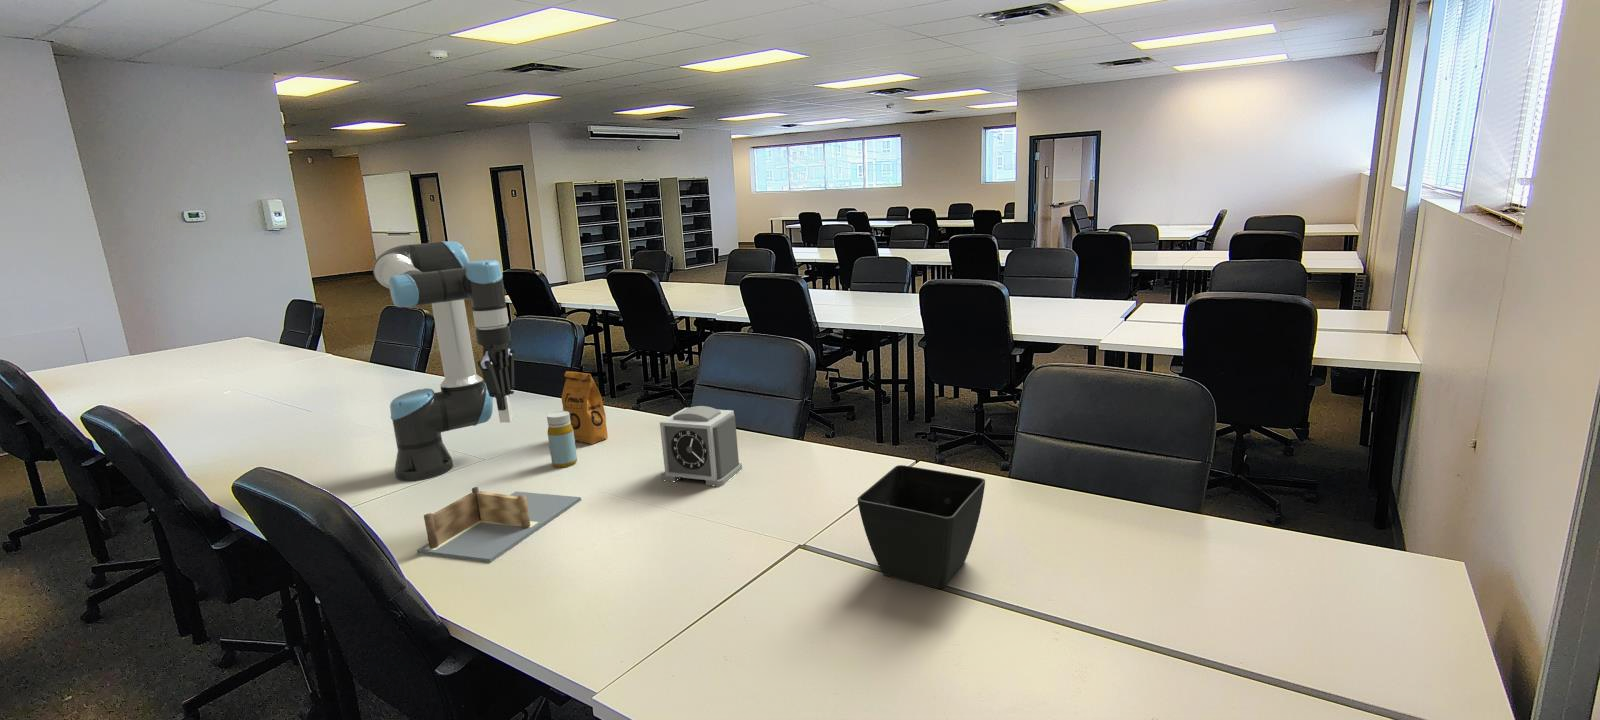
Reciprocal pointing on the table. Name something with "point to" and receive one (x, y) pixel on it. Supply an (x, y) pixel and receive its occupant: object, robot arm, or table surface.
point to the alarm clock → (700, 445)
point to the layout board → (501, 530)
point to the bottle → (561, 439)
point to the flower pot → (921, 522)
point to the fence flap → (503, 508)
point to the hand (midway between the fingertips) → (506, 421)
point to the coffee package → (584, 407)
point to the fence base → (452, 519)
